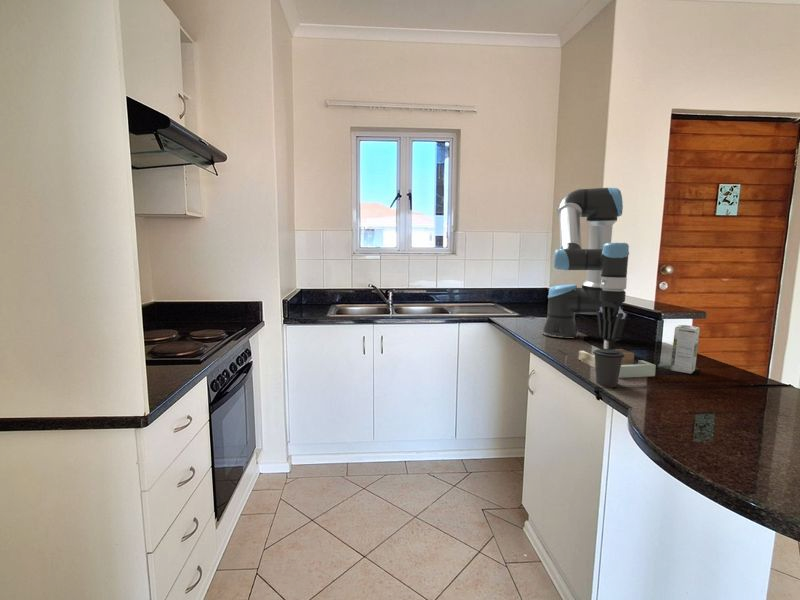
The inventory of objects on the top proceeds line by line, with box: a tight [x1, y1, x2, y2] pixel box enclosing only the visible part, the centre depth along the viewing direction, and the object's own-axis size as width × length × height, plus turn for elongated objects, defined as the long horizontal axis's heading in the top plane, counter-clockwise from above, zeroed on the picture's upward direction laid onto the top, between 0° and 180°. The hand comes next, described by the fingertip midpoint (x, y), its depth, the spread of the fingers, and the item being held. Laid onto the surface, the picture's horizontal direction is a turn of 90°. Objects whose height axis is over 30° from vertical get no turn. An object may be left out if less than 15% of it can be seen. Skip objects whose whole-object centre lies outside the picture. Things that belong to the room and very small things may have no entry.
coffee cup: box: [592, 348, 624, 388], centre depth 115 cm, size 8×8×10 cm
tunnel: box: [578, 350, 596, 369], centre depth 136 cm, size 10×13×4 cm
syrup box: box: [670, 324, 701, 375], centre depth 127 cm, size 6×6×14 cm
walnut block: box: [612, 348, 635, 365], centre depth 129 cm, size 6×6×6 cm
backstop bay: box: [618, 359, 657, 379], centre depth 124 cm, size 6×13×4 cm, turn 99°
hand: (608, 359), depth 134 cm, fingers closed
